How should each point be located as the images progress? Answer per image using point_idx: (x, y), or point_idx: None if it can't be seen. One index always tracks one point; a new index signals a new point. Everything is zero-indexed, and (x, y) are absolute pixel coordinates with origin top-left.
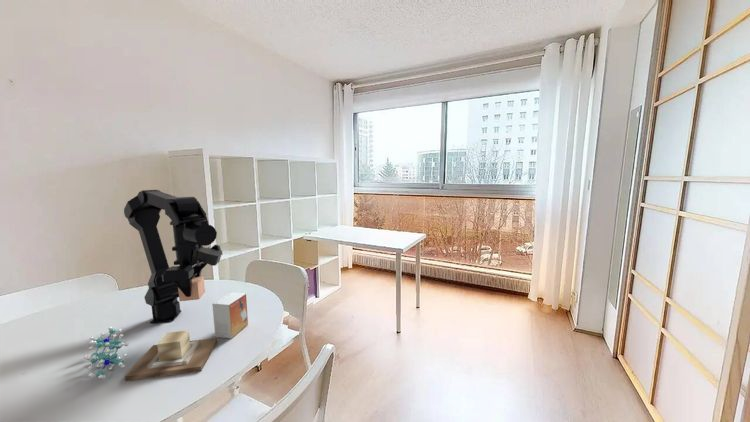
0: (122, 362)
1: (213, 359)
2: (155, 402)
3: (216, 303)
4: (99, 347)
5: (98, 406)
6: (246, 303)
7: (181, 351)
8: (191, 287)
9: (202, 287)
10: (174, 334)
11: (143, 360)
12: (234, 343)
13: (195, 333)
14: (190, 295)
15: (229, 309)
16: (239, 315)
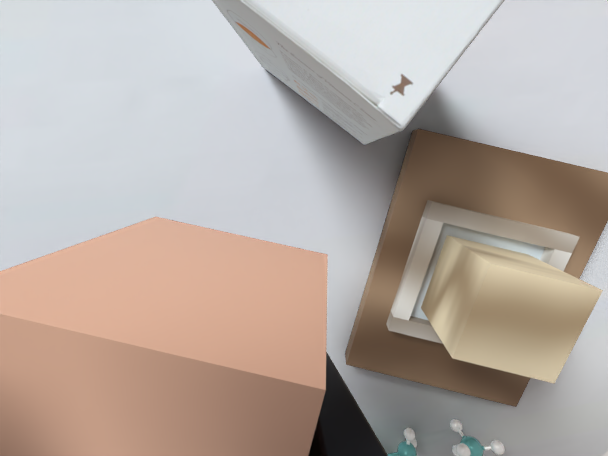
0: (478, 441)
1: (552, 137)
2: None
3: (429, 87)
4: None
5: (594, 426)
6: None
7: (553, 267)
8: (321, 419)
9: (174, 255)
10: (498, 325)
11: (444, 375)
12: (471, 50)
13: (290, 230)
14: (326, 353)
15: None
16: None
